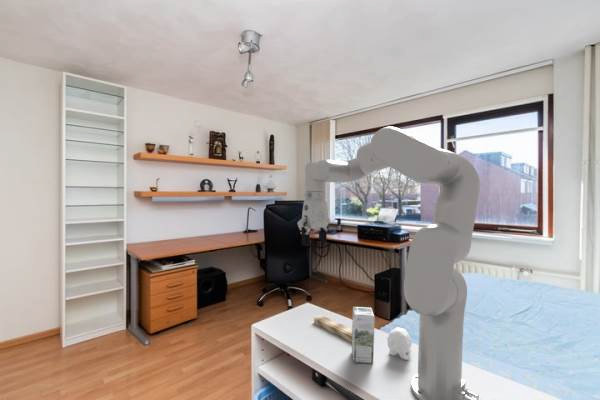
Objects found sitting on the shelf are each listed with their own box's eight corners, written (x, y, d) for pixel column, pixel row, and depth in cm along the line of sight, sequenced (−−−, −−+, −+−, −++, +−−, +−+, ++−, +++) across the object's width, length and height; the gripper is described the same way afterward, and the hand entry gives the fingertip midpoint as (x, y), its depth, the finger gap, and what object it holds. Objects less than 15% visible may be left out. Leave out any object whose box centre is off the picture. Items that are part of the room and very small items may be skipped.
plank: (369, 343, 90) (370, 336, 90) (363, 347, 87) (363, 340, 87) (320, 319, 106) (321, 313, 106) (314, 322, 104) (314, 316, 103)
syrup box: (370, 353, 84) (371, 306, 84) (373, 365, 79) (374, 315, 78) (351, 351, 85) (352, 305, 85) (353, 363, 79) (354, 313, 79)
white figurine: (386, 328, 82) (396, 317, 92) (385, 357, 82) (395, 343, 92) (408, 334, 79) (416, 322, 89) (407, 365, 78) (415, 349, 88)
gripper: (307, 196, 90) (306, 248, 91) (337, 196, 103) (336, 242, 104) (291, 196, 95) (290, 245, 96) (321, 196, 108) (320, 239, 109)
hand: (314, 243), depth 100 cm, fingers open, 9 cm apart
